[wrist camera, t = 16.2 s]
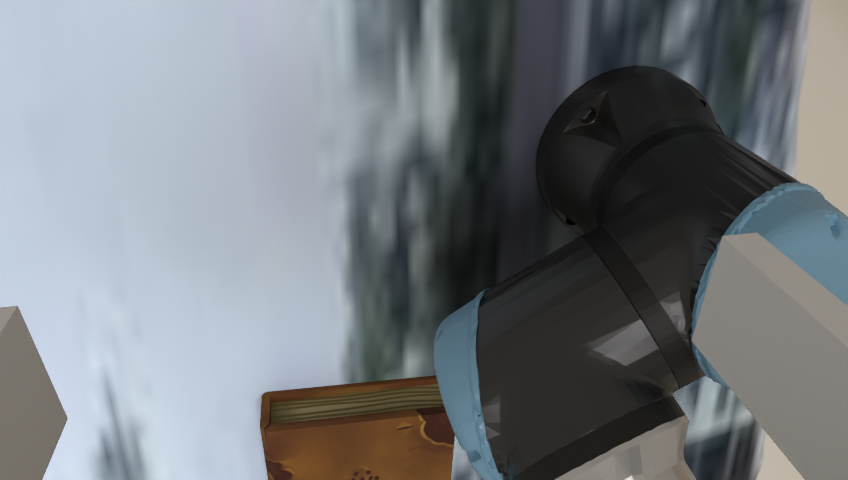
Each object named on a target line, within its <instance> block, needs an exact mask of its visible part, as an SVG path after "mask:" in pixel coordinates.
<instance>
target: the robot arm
mask: <svg viewBox="0 0 848 480" xmlns="http://www.w3.org/2000/svg"><path fill="white" fill-rule="evenodd" d="M537 178H538V183H539V187H540V190H541V193H542V195H543V197H544V199H545V200H546V202H547V203H548V205H549V206H550V208H551V209H552V210H553V212H554V213H555V214H556V216H557V217H558V218H559V219H560V220H561V221H562V222H563V223H564V224H565V225H567V226H568V227H569V228H570V229H572V230H574V231H575V232H577V233H579V234H581V235H582V236H580V237H578V238H576V239H575V240H573V241H571V242H570V243H568V244H566V245H565V246H563V247H561V248H559V249H558V250H556V251H554V252H553V253H551V254H549V255H548V256H546V257H544V258H543V259H541V260H539V261H538V262H536V263H534V264H532V265H531V266H529V267H527V268H526V269H524V270H522V271H521V272H519V273H517V274H515V275H513V276H512V277H510V278H508V279H506V280H505V281H503V282H501V283H499V284H498V285H496V286H494V287H492V288H491V289H489V288H488V289H485V290H483V291H481V292H480V293H479V294H478V295H477V297H476V298H475V299H473V300H472V301H470V302H469V303H467V304H466V305H464V306H463V307H462V308H460V309H458V310H457V311H455V312H454V313H452V314H451V315H449V316H448V317H447V318H445V319H444V321H443V322H442V323H441V324H440V326H439V328H438V330H437V332H436V337H435V340H434V365H435V372H436V378H437V382H438V386H439V390H440V394H441V397H442V401H443V404H444V407H445V410H446V413H447V416H448V418H449V421H450V423H451V426H452V429H453V431H454V433H455V436H456V438H457V440H458V442H459V444H460V446H461V447H462V449H464V450H466V452H467V455H468V458H469V461H470V463H471V465H472V466H473V468H474V469H475V471H476V472H477V474H478V475H479V476H480V477H481V478H482V479H483V480H696V478H695V477H694V475H693V473H692V472H691V470H690V469H689V467H688V465H687V464H686V462H685V460H684V455H683V448H684V443H685V437H686V433H687V428H688V423H689V420H688V418H687V416H686V415H685V414H684V412H683V411H682V409H681V407H680V406H679V404H678V403H677V401H676V400H675V398H674V397H673V393H674V392H675V391H677V390H678V389H680V388H682V387H684V386H686V385H688V384H690V383H692V382H693V381H695V380H697V379H700V378H702V377H703V376H705V375H706V376H707V377H709V378H711V379H712V380H713V381H714V382H717V383H719V384H721V385H723V386H724V387H727V388H730V389H731V390H732V391H733V392H734V393H735V395H736V396H737V397H738V398H739V400H740V401H741V402H742V403H743V404H744V406H745V407H746V408H747V409H748V411H749V412H750V413H751V414H752V416H753V417H754V418H755V419H756V420H757V422H758V423H759V424H760V425H761V427H762V428H763V429H764V430H765V431H766V433H767V434H768V435H769V436H770V437H771V439H772V440H773V441H774V442H775V444H776V445H777V446H778V447H779V449H780V450H781V451H782V452H783V453H784V455H785V456H786V457H787V458H788V460H789V461H790V462H791V463H792V464H793V466H794V467H795V468H796V469H797V471H798V472H799V473H800V474H801V475H802V477H803V478H804V479H805V480H848V217H847V216H846V215H845V214H843V213H842V212H841V211H840V210H838V209H837V208H836V207H834V206H833V205H832V204H831V203H829V202H828V201H827V200H825V198H824V197H823V195H822V194H821V193H820V192H818V191H817V190H816V189H815V188H813V187H812V186H810V185H807V184H803V183H800V182H799V181H797V180H796V179H794V178H793V177H791V176H789V175H788V174H786V173H785V172H783V171H781V170H780V169H778V168H777V167H775V166H773V165H772V164H770V163H769V162H767V161H766V160H764V159H762V158H761V157H759V156H758V155H756V154H754V153H753V152H751V151H750V150H748V149H746V148H745V147H743V146H742V145H740V144H739V143H737V142H735V141H734V140H732V139H730V138H729V137H727V136H726V135H724V133H723V131H722V129H721V128H720V126H719V125H718V124H717V123H716V122H715V118H714V115H713V113H712V111H711V108H710V106H709V105H708V103H707V101H706V100H705V99H704V97H703V96H702V95H701V94H700V93H699V92H698V91H697V90H696V89H695V88H694V87H693V86H692V85H690V84H689V83H687V82H686V81H684V80H682V79H680V78H679V77H677V76H675V75H673V74H672V73H670V72H667V71H665V70H662V69H658V68H654V67H647V66H634V67H626V68H621V69H617V70H613V71H610V72H608V73H605V74H603V75H601V76H598V77H596V78H595V79H593V80H591V81H589V82H588V83H586V84H585V85H583V86H582V87H581V88H579V89H578V90H577V91H575V92H574V93H573V94H572V95H571V96H570V97H569V98H568V99H567V100H566V101H565V102H564V103H563V104H562V105H561V106H560V108H559V109H558V110H557V112H556V113H555V114H554V116H553V117H552V119H551V121H550V122H549V124H548V126H547V128H546V130H545V132H544V134H543V137H542V140H541V143H540V146H539V150H538V156H537ZM67 419H68V418H67V416H66V414H65V411H64V409H63V407H62V405H61V402H60V400H59V398H58V396H57V393H56V391H55V389H54V387H53V384H52V382H51V380H50V378H49V375H48V373H47V371H46V369H45V366H44V364H43V362H42V360H41V357H40V355H39V353H38V351H37V348H36V346H35V344H34V342H33V339H32V337H31V335H30V333H29V330H28V328H27V326H26V324H25V321H24V319H23V317H22V315H21V312H20V310H19V308H18V306H12V307H2V308H0V480H42V479H43V476H44V474H45V471H46V469H47V467H48V464H49V462H50V460H51V457H52V455H53V452H54V450H55V448H56V445H57V443H58V440H59V438H60V436H61V433H62V431H63V429H64V426H65V424H66V421H67Z"/></svg>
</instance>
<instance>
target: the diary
mask: <svg viewBox="0 0 848 480" xmlns="http://www.w3.org/2000/svg"><path fill="white" fill-rule="evenodd" d="M260 428H261V435H262V442H263V448H264V455H265V461H266V468H267V475H268V480H451V471H452V460H453V449H454V438H455V433H454V431H453V429H452V426H451V423H450V421H449V418H448V416H447V413H446V410H445V407H444V404H443V401H442V397H441V394H440V390H439V386H438V382H437V378H436V376H426V377H416V378H406V379H395V380H385V381H375V382H365V383H354V384H344V385H334V386H323V387H313V388H303V389H293V390H282V391H272V392H266V393H265V394H264V395H263V396H262V404H261V419H260Z"/></svg>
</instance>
